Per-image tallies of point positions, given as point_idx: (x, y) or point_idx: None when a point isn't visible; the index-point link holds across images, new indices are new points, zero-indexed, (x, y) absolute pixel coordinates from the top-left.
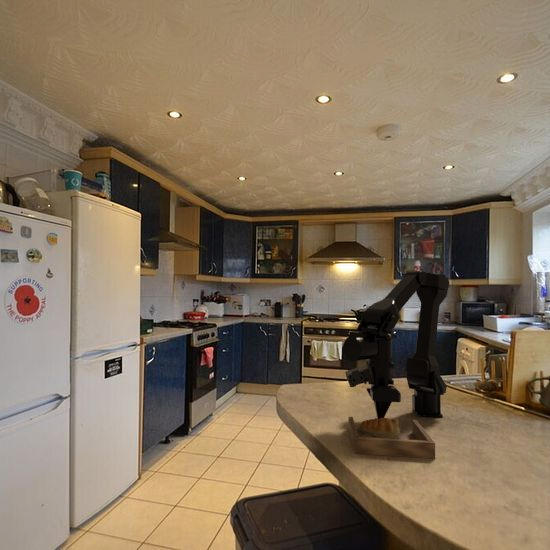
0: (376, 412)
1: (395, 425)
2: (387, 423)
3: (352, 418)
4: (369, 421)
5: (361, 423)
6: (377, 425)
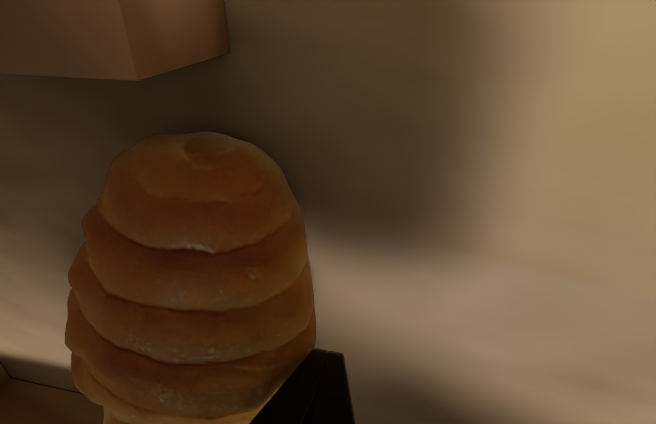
0: (295, 415)
1: (105, 412)
2: (87, 384)
3: (58, 64)
4: (169, 267)
5: (142, 172)
6: (79, 302)
